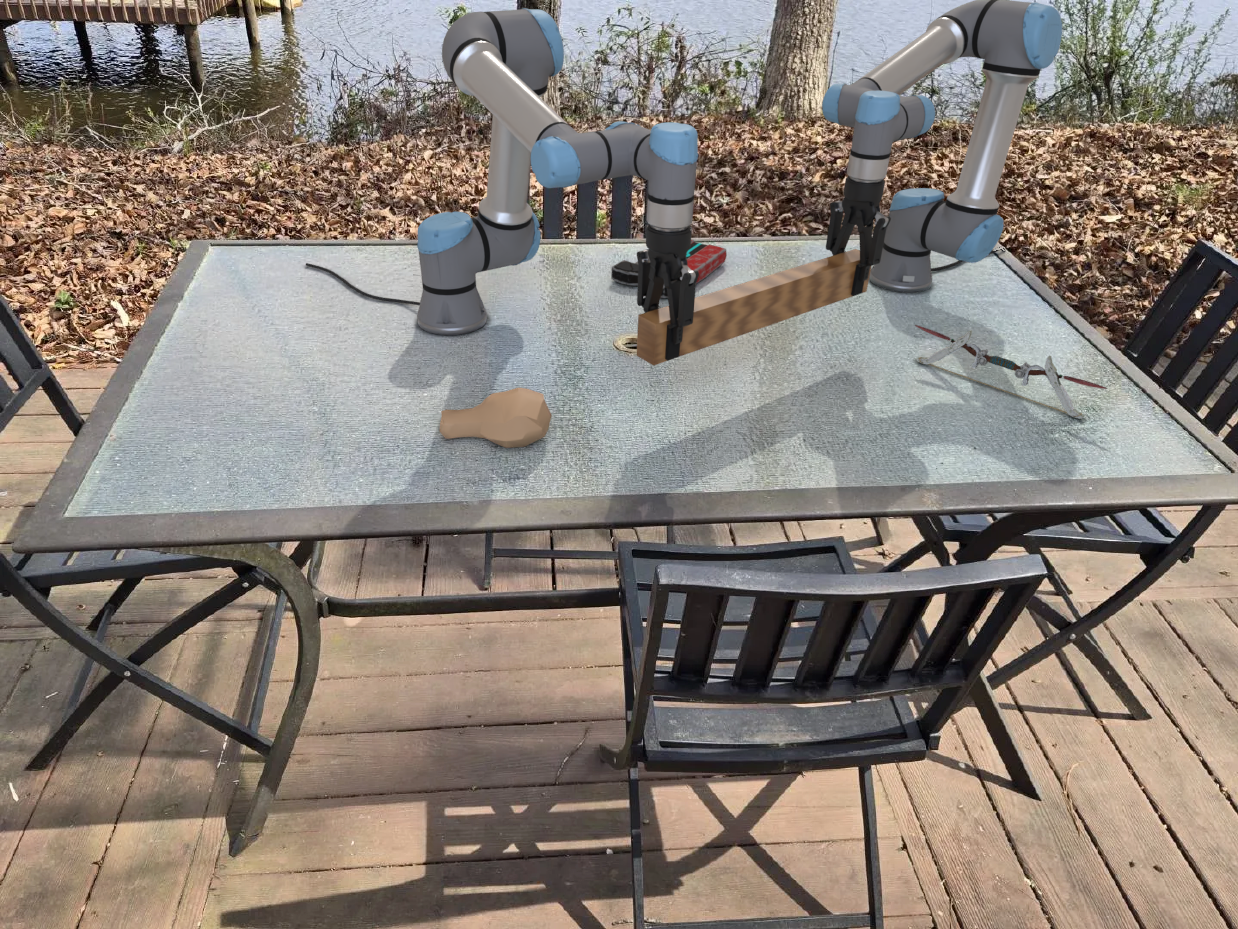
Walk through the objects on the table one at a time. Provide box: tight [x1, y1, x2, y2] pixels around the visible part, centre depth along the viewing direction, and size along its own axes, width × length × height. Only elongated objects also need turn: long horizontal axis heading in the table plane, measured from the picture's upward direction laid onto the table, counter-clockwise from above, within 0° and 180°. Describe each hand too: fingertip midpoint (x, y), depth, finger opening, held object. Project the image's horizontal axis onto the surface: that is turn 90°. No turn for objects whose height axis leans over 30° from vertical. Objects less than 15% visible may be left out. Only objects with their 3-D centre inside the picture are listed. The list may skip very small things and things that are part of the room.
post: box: [636, 248, 873, 366], centre depth 169 cm, size 59×5×8 cm, turn 128°
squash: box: [438, 387, 553, 449], centre depth 154 cm, size 11×20×9 cm, turn 90°
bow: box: [914, 324, 1108, 420], centre depth 174 cm, size 39×2×10 cm, turn 47°
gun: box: [610, 238, 728, 299], centre depth 222 cm, size 4×31×19 cm
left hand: (662, 351), depth 157 cm, fingers closed on post, 5 cm apart
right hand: (846, 289), depth 184 cm, fingers closed on post, 5 cm apart
